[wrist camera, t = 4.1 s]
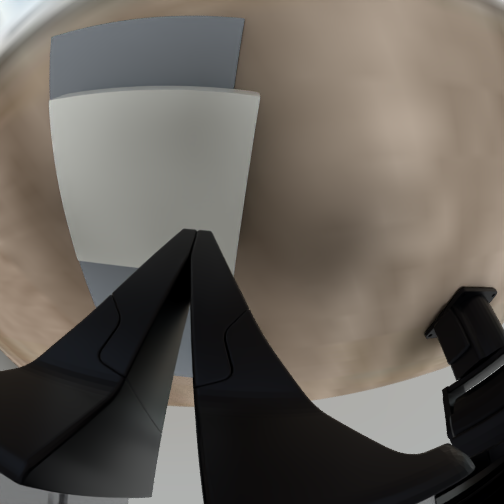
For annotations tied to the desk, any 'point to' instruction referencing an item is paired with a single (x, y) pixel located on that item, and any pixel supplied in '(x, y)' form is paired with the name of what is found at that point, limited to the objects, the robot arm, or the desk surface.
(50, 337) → the desk surface
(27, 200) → the desk surface
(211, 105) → the glazed tile
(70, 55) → the rubber mat
